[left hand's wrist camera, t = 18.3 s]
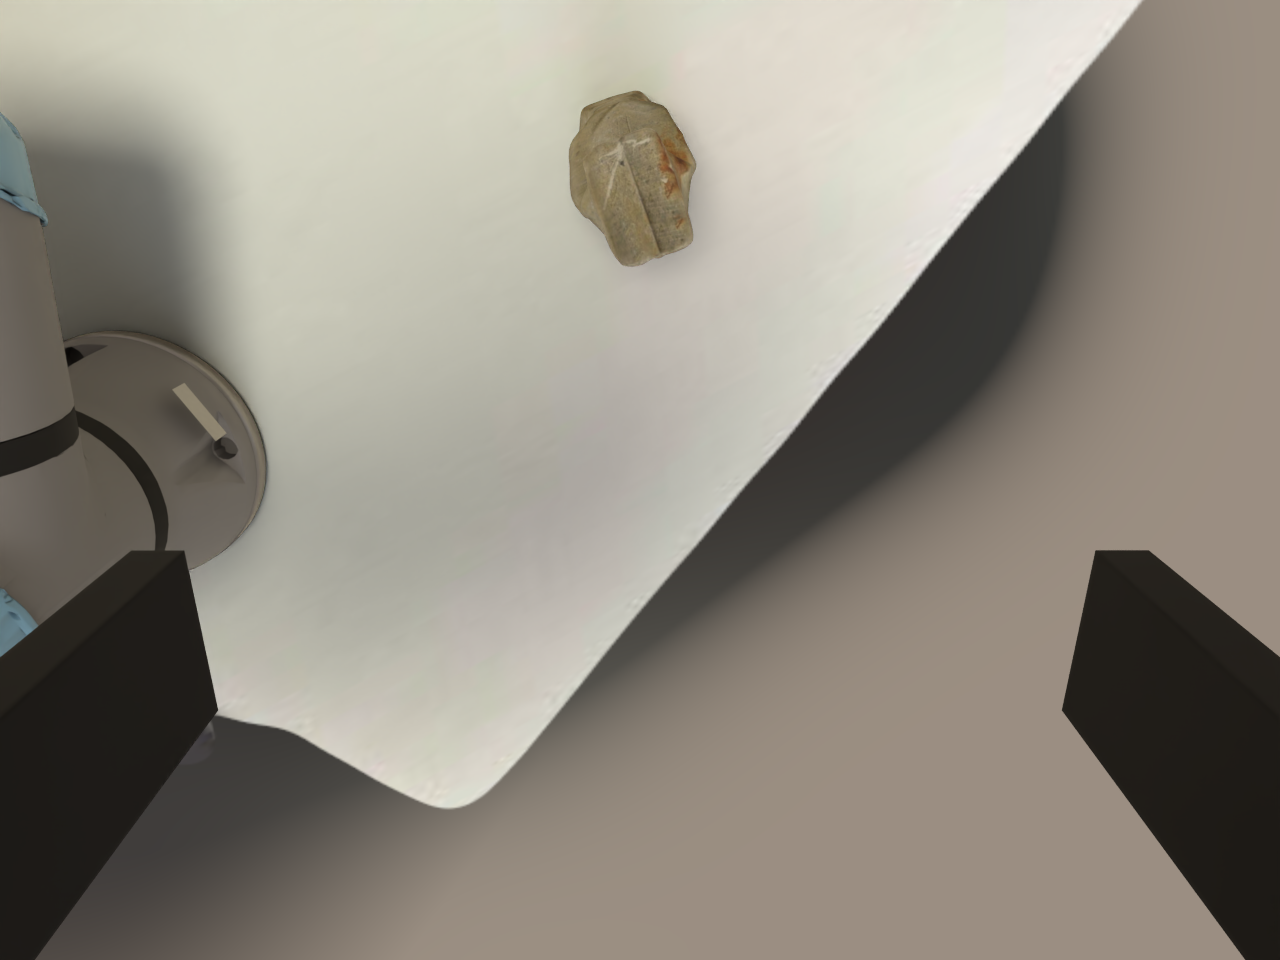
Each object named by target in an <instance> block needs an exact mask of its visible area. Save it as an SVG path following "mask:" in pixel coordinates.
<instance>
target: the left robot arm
mask: <svg viewBox="0 0 1280 960" xmlns="http://www.w3.org/2000/svg"><path fill="white" fill-rule="evenodd" d="M47 225H48V219H47V215H46V213H45V211H44V210H43V208H42V207H41V206H40V205H39V204H38V200H37V196H36V192H35V187H34V183H33V178H32V174H31V170H30V165H29V161H28V157H27V152H26V148H25V145H24V142H23V140H22V138H21V136H20V134H19V132H18V130H17V129H16V127H15V126H14V125H13V124H12V123H11V122H10V121H9V120H8V119H7V118H6V117H5V116H4V115H3V114H2V113H1V112H0V960H35V959H36V957H37V956H38V955H39V953H40V952H41V950H42V949H43V948H44V946H45V945H46V944H47V942H48V941H49V940H50V938H51V937H52V936H53V934H54V933H55V931H56V930H57V929H58V927H59V926H60V925H61V923H62V922H63V921H64V919H65V918H66V917H67V915H68V914H69V912H70V911H71V910H72V908H73V907H74V906H75V904H76V903H77V902H78V900H79V899H80V897H81V896H82V895H83V893H84V892H85V891H86V889H87V888H88V887H89V885H90V884H91V882H92V881H93V880H94V878H95V877H96V876H97V874H98V873H99V872H100V870H101V869H102V867H103V866H104V865H105V863H106V862H107V861H108V859H109V858H110V857H111V855H112V854H113V853H114V851H115V850H116V848H117V847H118V846H119V844H120V843H121V842H122V840H123V839H124V838H125V836H126V835H127V834H128V832H129V831H130V829H131V828H132V827H133V825H134V824H135V823H136V821H137V820H138V819H139V817H140V816H141V814H142V813H143V812H144V810H145V809H146V808H147V806H148V805H149V804H150V802H151V801H152V799H153V798H154V797H155V795H156V794H157V793H158V791H159V790H160V789H161V787H162V786H163V785H164V783H165V782H166V780H167V779H168V778H169V776H170V775H171V774H172V772H173V771H174V769H175V768H176V767H177V765H178V764H179V763H180V761H181V760H182V759H183V757H184V756H185V755H186V753H187V752H188V751H189V749H190V748H191V746H192V745H193V744H194V742H195V741H196V740H197V738H198V737H199V736H200V734H201V733H202V731H203V730H204V729H205V727H206V726H207V725H208V723H209V722H210V721H211V719H212V718H213V717H214V715H215V714H216V712H217V711H218V708H217V703H216V698H215V693H214V689H213V684H212V679H211V674H210V670H209V665H208V660H207V655H206V651H205V646H204V641H203V636H202V632H201V627H200V622H199V617H198V613H197V608H196V603H195V598H194V594H193V589H192V584H191V579H190V575H189V570H191V569H194V568H196V567H198V566H200V565H202V564H204V563H206V562H207V561H209V560H211V559H212V558H214V557H215V556H217V555H219V554H220V553H221V552H223V551H224V550H225V549H227V548H228V547H229V546H230V545H231V544H232V543H233V542H234V541H235V540H236V539H237V538H238V537H239V536H240V535H241V534H242V533H243V532H244V530H245V529H246V528H247V527H248V526H249V524H250V523H251V521H252V520H253V518H254V516H255V514H256V512H257V510H258V508H259V505H260V503H261V500H262V497H263V492H264V488H265V480H266V463H265V454H264V449H263V444H262V441H261V437H260V434H259V431H258V429H257V426H256V424H255V421H254V419H253V418H252V416H251V414H250V412H249V410H248V408H247V407H246V405H245V404H244V402H243V401H242V399H241V398H240V396H239V395H238V394H237V392H236V391H235V390H234V389H233V387H232V386H231V385H230V384H229V383H228V382H227V381H226V380H225V379H224V378H223V377H222V376H221V375H220V374H219V373H218V372H217V371H216V370H215V369H213V368H212V367H211V366H209V365H208V364H207V363H206V362H204V361H203V360H201V359H200V358H198V357H197V356H195V355H194V354H192V353H191V352H189V351H187V350H185V349H183V348H181V347H179V346H177V345H175V344H173V343H170V342H168V341H165V340H162V339H159V338H157V337H153V336H149V335H145V334H141V333H135V332H128V331H101V332H93V333H88V334H84V335H80V336H77V337H74V338H71V339H68V340H66V341H63V338H62V333H61V327H60V322H59V316H58V311H57V305H56V300H55V294H54V289H53V283H52V278H51V272H50V267H49V261H48V256H47V250H46V245H45V239H44V234H43V228H42V227H45V226H47ZM1062 711H1063V712H1064V714H1065V715H1066V716H1067V718H1068V719H1069V721H1070V722H1071V723H1072V725H1073V726H1074V727H1075V729H1076V730H1077V731H1078V733H1079V734H1080V735H1081V737H1082V738H1083V740H1084V741H1085V742H1086V744H1087V745H1088V746H1089V748H1090V749H1091V751H1092V752H1093V753H1094V755H1095V756H1096V757H1097V759H1098V760H1099V761H1100V763H1101V764H1102V765H1103V767H1104V768H1105V770H1106V771H1107V772H1108V774H1109V775H1110V776H1111V778H1112V779H1113V780H1114V782H1115V783H1116V785H1117V786H1118V787H1119V789H1120V790H1121V791H1122V793H1123V794H1124V795H1125V797H1126V798H1127V800H1128V801H1129V802H1130V804H1131V805H1132V806H1133V808H1134V809H1135V810H1136V812H1137V813H1138V814H1139V816H1140V817H1141V819H1142V820H1143V821H1144V823H1145V824H1146V825H1147V827H1148V828H1149V829H1150V831H1151V832H1152V833H1153V835H1154V836H1155V838H1156V839H1157V840H1158V842H1159V843H1160V844H1161V846H1162V847H1163V848H1164V850H1165V851H1166V853H1167V854H1168V855H1169V857H1170V858H1171V859H1172V861H1173V862H1174V863H1175V865H1176V866H1177V868H1178V869H1179V870H1180V872H1181V873H1182V874H1183V876H1184V877H1185V878H1186V880H1187V881H1188V882H1189V884H1190V885H1191V887H1192V888H1193V889H1194V891H1195V892H1196V893H1197V895H1198V896H1199V897H1200V899H1201V900H1202V901H1203V903H1204V904H1205V906H1206V907H1207V908H1208V910H1209V911H1210V912H1211V914H1212V915H1213V916H1214V918H1215V919H1216V921H1217V922H1218V923H1219V925H1220V926H1221V927H1222V929H1223V930H1224V931H1225V933H1226V934H1227V936H1228V937H1229V938H1230V940H1231V941H1232V942H1233V944H1234V945H1235V946H1236V948H1237V949H1238V951H1239V952H1240V953H1241V955H1242V956H1243V957H1244V959H1245V960H1280V657H1279V656H1278V655H1277V654H1275V653H1274V652H1273V651H1272V650H1270V649H1269V648H1268V647H1267V646H1265V645H1264V644H1263V643H1262V642H1260V641H1259V640H1258V639H1257V638H1256V637H1254V636H1253V635H1252V634H1251V633H1249V632H1248V631H1247V630H1246V629H1245V628H1243V627H1242V626H1241V625H1240V624H1238V623H1237V622H1236V621H1235V620H1234V619H1232V618H1231V617H1230V616H1229V615H1227V614H1226V613H1225V612H1224V611H1222V610H1221V609H1220V608H1219V607H1218V606H1216V605H1215V604H1214V603H1213V602H1211V601H1210V600H1209V599H1208V598H1206V597H1205V596H1204V595H1203V594H1202V593H1200V592H1199V591H1198V590H1197V589H1195V588H1194V587H1193V586H1192V585H1191V584H1189V583H1188V582H1187V581H1186V580H1184V579H1183V578H1182V577H1181V576H1179V575H1178V574H1177V573H1176V572H1175V571H1173V570H1172V569H1171V568H1170V567H1168V566H1167V565H1166V564H1165V563H1164V562H1162V561H1161V560H1160V559H1159V558H1157V557H1156V556H1155V555H1154V554H1152V553H1151V552H1150V551H1148V550H1096V551H1095V556H1094V560H1093V565H1092V570H1091V575H1090V579H1089V584H1088V589H1087V594H1086V599H1085V603H1084V608H1083V613H1082V617H1081V622H1080V627H1079V632H1078V636H1077V641H1076V646H1075V651H1074V655H1073V660H1072V665H1071V670H1070V674H1069V679H1068V684H1067V689H1066V693H1065V698H1064V703H1063V708H1062Z"/></svg>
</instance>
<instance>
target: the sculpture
mask: <svg viewBox="0 0 1280 960" xmlns="http://www.w3.org/2000/svg"><path fill="white" fill-rule="evenodd" d="M569 163H570V190H571V196H572V200H573V202H574V204H575V206H576V207H577V208H578V210H579V211H580V212H581V214H582V215H583V216H584V217H586V218H589V219H590V220H591V221H592V222H593V223H594V224H595V225H596V226H597V227H598V228H599V229H600V230H601V231H602V232H603V233H604V234H605V236H606V239H607V242H608V244H609V246H610V249H611V251H612V252H613V254H614V256H615V257H616V258H617V260H618V261H619V262H620V263H621V264H622V265H624V266H628V267H633V266H639V265H643V264H644V263H646V262H648V261H649V260H651V259H654V258H661V257H663V256H664V255H666V254H670V253H673V252H676V251H679V250H681V249H683V248H685V247H687V246H688V245H689V244H691V242H692V241H693V231H692V226H691V222H690V218H689V215H688V202H689V190H690V183H691V178H692V175H693V173H694V171H695V169H696V163H695V160H694V158H693V156H692V154H691V152H690V150H689V148H688V146H687V144H686V142H685V140H684V137H683V134H682V133H681V131H680V130H679V129H678V127H677V126H676V124H675V122H674V121H673V119H672V118H671V116H670V114H669V112H668V110H667V109H666V108H665V107H664V106H662V105H659V104H656V103H653V102H651V101H650V100H649V99H648V98H647V97H646V96H645V95H644V94H643V93H642V92H639V91H632V92H628V93H624V94H620V95H616V96H613V97H610V98H607V99H604V100H601V101H599V102H596V103H593V104H591V105H588V106H586V107H585V108H584V109H583V110H582V112H581V117H580V130H579V132H578V134H577V135H576V136H575V138H574V139H573V141H572V143H571V145H570V149H569Z"/></svg>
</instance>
